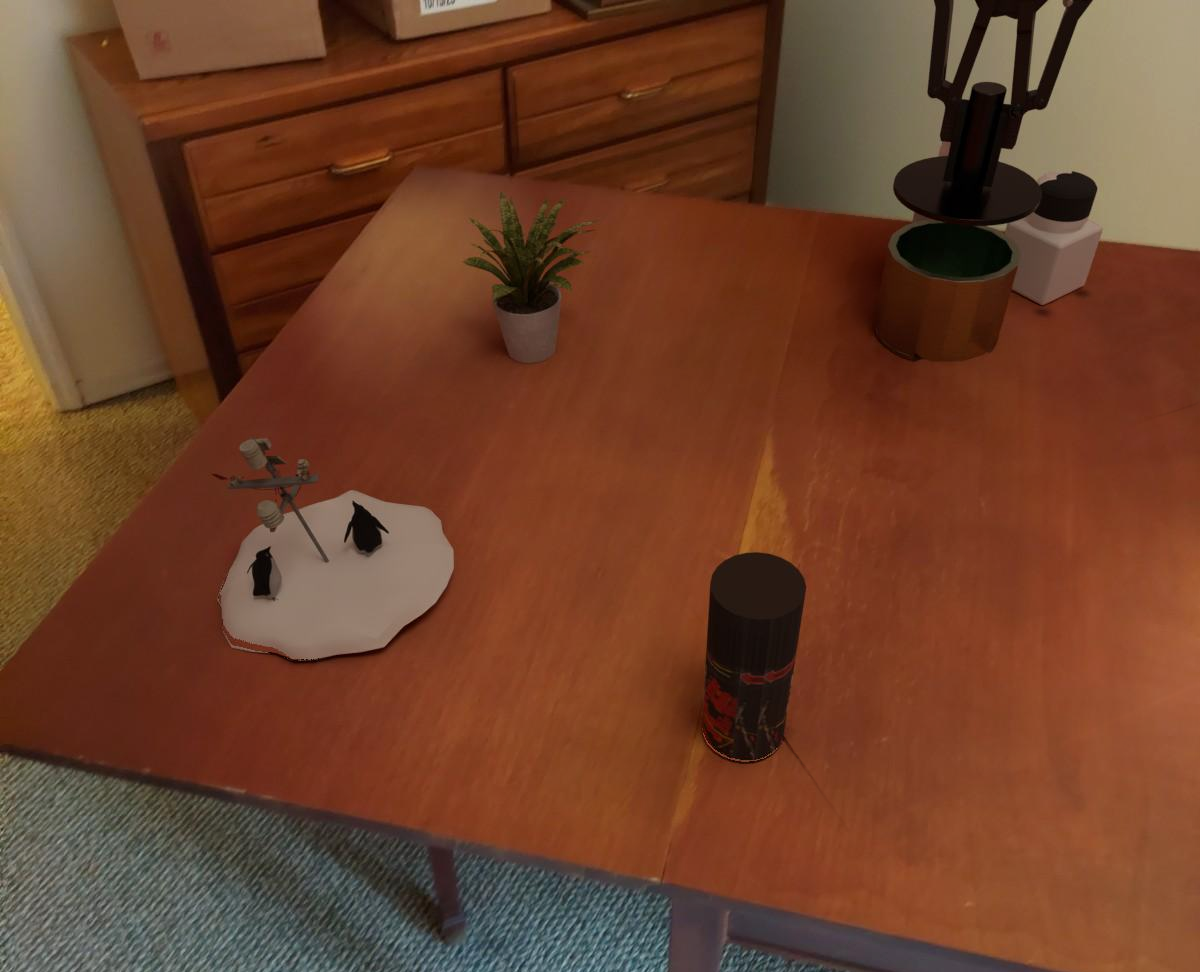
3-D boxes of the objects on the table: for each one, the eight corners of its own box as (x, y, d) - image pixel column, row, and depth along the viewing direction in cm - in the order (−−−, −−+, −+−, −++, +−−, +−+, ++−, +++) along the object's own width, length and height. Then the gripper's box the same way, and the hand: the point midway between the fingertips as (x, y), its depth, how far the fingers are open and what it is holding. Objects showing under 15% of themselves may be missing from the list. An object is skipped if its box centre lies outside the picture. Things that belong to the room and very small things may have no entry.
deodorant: (794, 756, 75) (818, 612, 64) (712, 769, 75) (723, 626, 64) (771, 692, 79) (790, 546, 69) (693, 704, 79) (700, 559, 68)
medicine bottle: (1085, 286, 118) (1120, 181, 109) (1042, 307, 115) (1074, 200, 106) (1033, 261, 122) (1063, 157, 113) (990, 280, 119) (1018, 175, 111)
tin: (1022, 346, 110) (1047, 262, 103) (921, 378, 107) (940, 293, 100) (947, 290, 118) (966, 208, 111) (851, 318, 115) (864, 235, 108)
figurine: (447, 486, 95) (398, 332, 83) (465, 636, 83) (410, 481, 71) (228, 533, 95) (148, 385, 83) (213, 691, 83) (116, 544, 71)
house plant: (571, 406, 105) (561, 253, 93) (444, 383, 109) (419, 233, 97) (616, 330, 114) (612, 183, 103) (497, 312, 118) (481, 167, 106)
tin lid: (1069, 212, 99) (1104, 100, 92) (949, 245, 96) (975, 130, 88) (977, 156, 108) (1002, 50, 101) (864, 184, 104) (881, 76, 97)
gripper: (923, -109, 83) (876, 183, 100) (1143, -96, 79) (1054, 207, 96) (938, -132, 88) (890, 150, 105) (1146, -121, 84) (1061, 172, 101)
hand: (969, 177), depth 100 cm, fingers closed on tin lid, 3 cm apart
